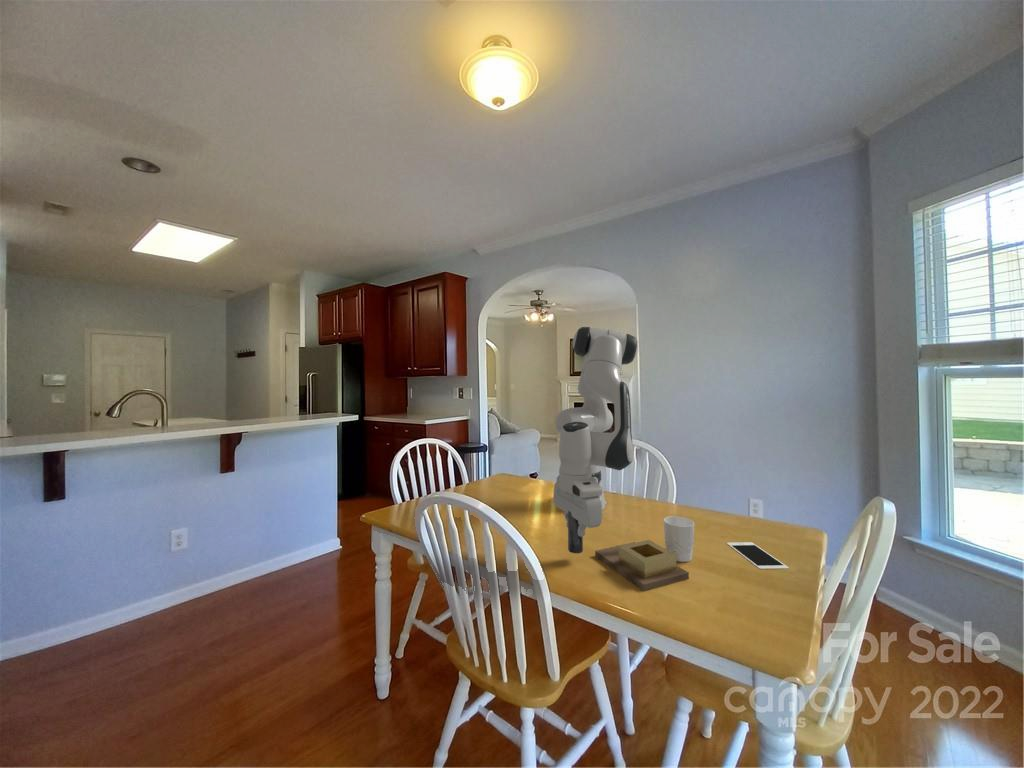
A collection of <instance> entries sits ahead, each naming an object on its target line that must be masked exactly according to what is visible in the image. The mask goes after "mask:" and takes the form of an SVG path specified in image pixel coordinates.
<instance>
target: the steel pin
mask: <svg viewBox="0 0 1024 768" xmlns="http://www.w3.org/2000/svg"><path fill="white" fill-rule="evenodd" d="M578 527H579V524H578V520H576V519H575V518H573V517H572V515H571V512H569V511H568V527H567V551H568V552H569V553H572V554H582V553H583V551H584V545H583V544H584V536H582V537H580V536H578V535H577V534H576V532H577V531H576V528H578Z"/></svg>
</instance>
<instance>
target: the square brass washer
mask: <svg viewBox="0 0 1024 768" xmlns="http://www.w3.org/2000/svg"><path fill="white" fill-rule="evenodd" d="M631 543H632V544H628V543H626V544H627V545H624V544H622V545H623V546H619V545H618V546H619V562H621V563H622V564H624V565H625V566H626V567H628V568H629V569H631V570H632V571H634V572H635V573H637V574H638V575H640V576H641V577H643V578H644V579H646V578H650V577H654V576H658V575H661V574H665V573H669V572H673V571H676V566H677V561H676V554H674V553H672V552H670V551H668V550H666V548H664V547H663V546H661V545H659V544H657V543H655V542H653V541H651V540H650V539H647V540H642V541H638V542H637V541H636V543H633V542H631Z"/></svg>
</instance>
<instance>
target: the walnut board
mask: <svg viewBox="0 0 1024 768" xmlns="http://www.w3.org/2000/svg"><path fill="white" fill-rule="evenodd" d="M632 543H637V541H636V542H635V541H633V542H628V543H624V544H620V545H619V544H618V545H616V546H611V547H606V548H601V549H597V550H595V551H594V556H595V557H596V558H597V559H599V560H600V561H602V562H603V563H604V564H606V565H607V566H608V567H610V568H612V569H613V570H614V571H616V572H617V573H619V574H620V575H621V576H623V577H624V578H625V579H627V580H628V581H629V582H631V583H632V584H634V585H635V586H636V587H638V588H639V589H641V590H642V591H645V592H646V591H648V590H652V589H655V588H659V587H663V586H666V585H670V584H674V583H677V582H681V581H684V580H685V581H686V580H689V579H690V573H689V571H687V570H685V569H684V568H682V567H680V566H678V565H676V571H673V572H669V573H665V574H661V575H658V576H654V577H650V578H646V579H644V578H643V577H641V576H640V575H638V574H637V573H635V572H634V571H632V570H631V569H629V568H628V567H626V566H625V565H624V564H622V563H621V562H619V546H623V545H627V544H632Z"/></svg>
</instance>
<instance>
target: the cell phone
mask: <svg viewBox="0 0 1024 768" xmlns="http://www.w3.org/2000/svg"><path fill="white" fill-rule="evenodd" d="M726 545H727V546H729V547H730V548H731V549H732V550H735V552H737V553H738V554H739V555H741V557H742V558H744V559H746V560H747V561H748V562H750V563H751V565H754V566H755V567H756V568H757V569H759V570H789V569H790V568H789V566H787V565H786V564H785V563H783V562H781V561H780V560H779V559H777V558H775V556H773V555H771V554H769V552H767V551H765V550H764V549H763V548H761V547H760V546H759V545H757V544H755V543H754V542H752V541H751V542H750V541H748V542H746V541H745V542H743V541H742V542H741V541H740V542H726Z"/></svg>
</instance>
